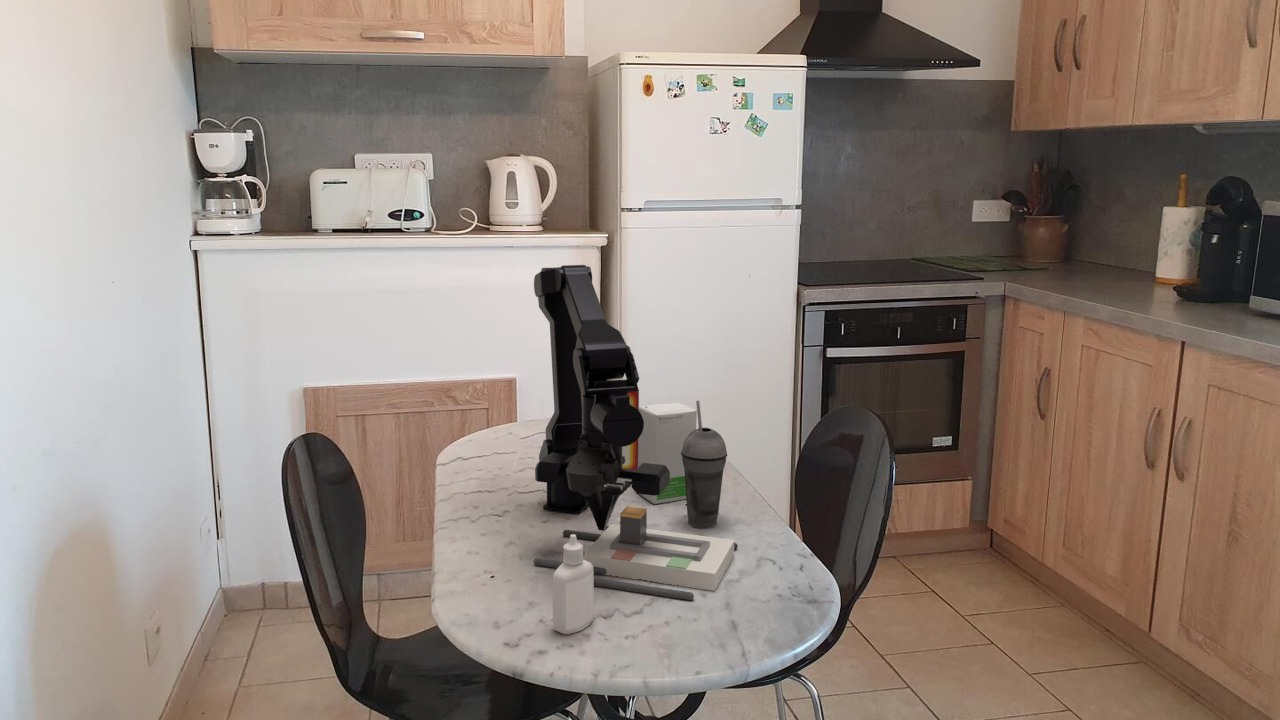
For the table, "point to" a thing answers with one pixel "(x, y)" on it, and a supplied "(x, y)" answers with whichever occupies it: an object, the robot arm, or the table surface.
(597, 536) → the rod
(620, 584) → the rod
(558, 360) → the robot arm
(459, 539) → the table surface
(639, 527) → the breaker toggle
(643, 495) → the skincare box
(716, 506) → the beverage cup
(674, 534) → the breaker switch base
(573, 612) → the eye dropper bottle
